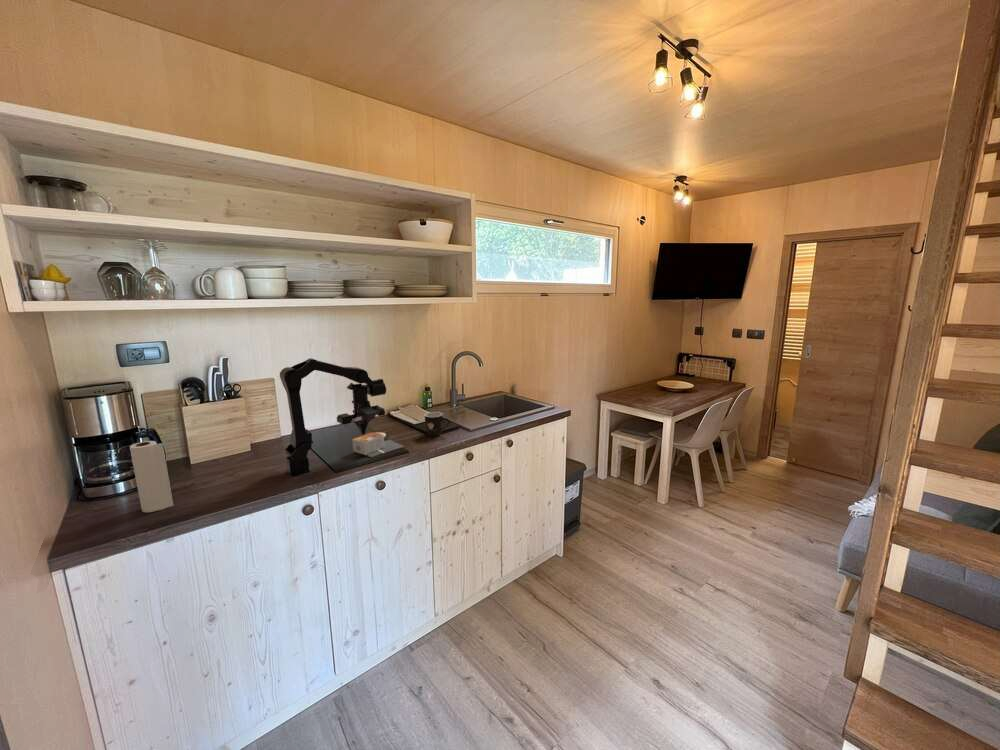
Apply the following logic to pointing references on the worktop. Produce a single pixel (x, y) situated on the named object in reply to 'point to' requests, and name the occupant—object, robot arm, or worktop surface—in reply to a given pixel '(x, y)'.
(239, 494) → the worktop surface
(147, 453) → the paper towel roll
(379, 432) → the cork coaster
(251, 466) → the worktop surface
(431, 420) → the coffee mug
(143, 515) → the worktop surface
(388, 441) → the mat
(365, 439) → the small box
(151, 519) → the worktop surface
